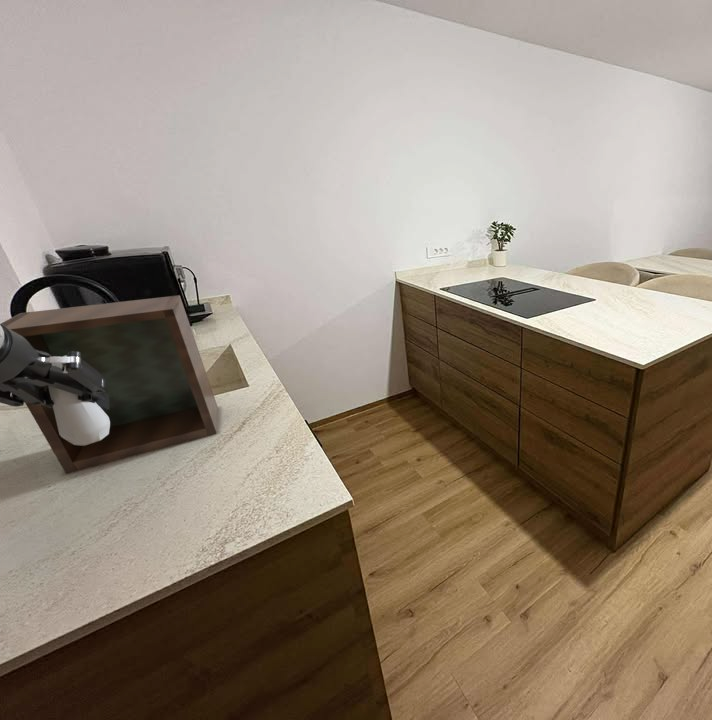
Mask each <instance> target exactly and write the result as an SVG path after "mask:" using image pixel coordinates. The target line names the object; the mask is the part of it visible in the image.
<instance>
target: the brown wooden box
mask: <svg viewBox="0 0 712 720" xmlns="http://www.w3.org/2000/svg"><path fill="white" fill-rule="evenodd" d="M0 324H2V325H3V326H5V327H7V328H9V329H11V330H12V331H14V332H16V333H18V334H19V335H21V336H23V337H24V338H25V339H26V340H27V341H28V342H29V343H30V345H31V346H32V347H33V348H34V349H35V350H38V351H42V352H46V353H49V354H50V355H51V356H52V357H63V356H68V352H71V351H77V352H80V353H81V359H83V360H84V361H85V362H86V363H88V364H89V365H90V366H92V367H93V368H94V369H96V370H97V371H98V372H99V373H101V374H102V375H103V376H105V393H106V394H108V395H109V410H107V411H104V412H105V413H106V414H107V416H108V417H109V420H110V429H109V434H108V435H107V436H106V437H104V438H103V439H102V440H100V441H97V442H94V443H91V444H88V445H74V444H72V443H70V442H69V441H67V440H65V439H64V438H62V437H61V436H60V435H59V430H58V426H57V422H56V418H55V413H54V409H53V408H48V407H46V406H43V405H33V404H30V403H29V402H27V403H25V405H26V407H27V409H28V410H29V412H30V414H31V416H32V417H33V419H34V421H35V422H36V424H37V426H38V428H39V429H40V431H41V433H42V434H43V437H44V438H45V440H46V442H47V443H48V445H49V447H50V448H51V450H52V452H53V454H54V456H55V457H56V459H57V461H58V462H59V464H60V466H61V468H62V469H63V471H64V473H65V474H66V475H68V474H71V473H74V472H78V471H82V470H86V469H90V468H94V467H97V466H100V465H105V464H108V463H112V462H116V461H120V460H123V459H127V458H131V457H134V456H138V455H142V454H146V453H149V452H153V451H157V450H162V449H165V448H168V447H169V448H170V447H173V446H176V445H180V444H184V443H187V442H191V441H196V440H199V439H202V438H208V437H210V436H211V437H212V436H214V435H217V434H218V421H219V407H218V404H217V400H216V398H215V395H214V391H213V389H212V385H211V383H210V379H209V377H208V374H207V370H206V367H205V366H204V361H203V359H202V356H201V354H200V353H201V352H200V351H199V347H198V345H197V342H196V339H195V335H194V333H193V329H192V327H191V324H190V321H189V318H188V315H187V313H186V310H185V307H184V303H183V301H182V298H181V295H179V294H178V295H170V296H161V297H152V298H143V299H134V300H126V301H125V300H124V301H117V302H107V303H99V304H98V303H97V304H89V305H81V306H80V305H79V306H72V307H62V308H54V309H45V310H35V311H27V312H20V313H18V314H16V315H14V316H12V317H10V318H9V319H6V320H4V321H3V322H1V323H0ZM47 388H48V385H47V386H45V389H44V391H46V392H47Z"/></svg>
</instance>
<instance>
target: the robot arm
mask: <svg viewBox="0 0 712 720" xmlns="http://www.w3.org/2000/svg"><path fill="white" fill-rule="evenodd" d="M47 385H48V386H51V387H54V388H57V389H61V390H64V391H67V392H70V393H73V394H76V395H78V400H82V401H88V402H92V403H95V402H96V403H97V405H98V406H100V407H101V408H102V410H103V411H107V410H109V395H108V394H106V393H105V376H103V375H102V374H101V373H99V372H98V371H97V370H96V369H94V368H93V367H92V366H90V365H89V364H88V363H86V362H85V361H84V360H83V359H81V353H80V352H77V351H71V352H68V356H63V357H52V356H51V355H50V354H49V353H46V352H42V351H38V350H35V349H34V348H33V347H32V346H31V345H30V343H29V342H28V341H27V340H26V339H25V338H24V337H23V336H21V335H19V334H18V333H16V332H14V331H12V330H11V329H9V328H7V327H5V326H3V325H2V324H1V323H0V404H4V405H7V406H11V407H16V408H17V407H23V406H24V404H26V403H27V402H29V403H30V404H33V405H43V406H46V407H48V408H53V405H54V402H53V400H51V396H50V392H49V388H47V392H46V391H44V389H45V386H47Z"/></svg>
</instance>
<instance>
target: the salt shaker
mask: <svg viewBox="0 0 712 720" xmlns="http://www.w3.org/2000/svg"><path fill="white" fill-rule="evenodd" d="M48 388H49V392H50V396H51V400H53V402H54V405H53V409H54V413H55V418H56V422H57V426H58V430H59V435H60V436H61V437H62V438H64V439H65V440H67V441H69V442H70V443H72V444H74V445H88V444H91V443H94V442H97V441H100V440H102V439H103V438H104V437H106V436H107V435H108V434H109V429H110V420H109V417H108V416H107V414H106V413H105V412H104V411H103V410H102V408H101V407H100V406H98V405H97V403H96V402H95V403H92V402H88V401H82V400H78V395H76V394H73V393H70V392H67V391H64V390H61V389H57V388H54V387H51V386H48Z"/></svg>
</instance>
